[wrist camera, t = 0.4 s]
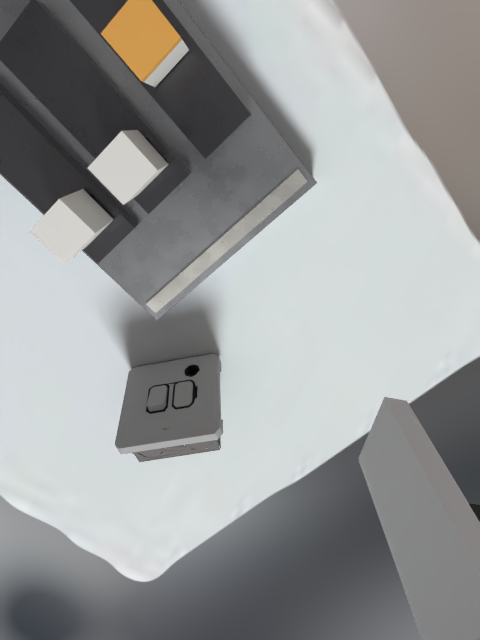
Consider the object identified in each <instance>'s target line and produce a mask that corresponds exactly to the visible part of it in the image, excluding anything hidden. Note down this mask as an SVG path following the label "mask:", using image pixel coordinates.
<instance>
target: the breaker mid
mask: <svg viewBox="0 0 480 640" xmlns="http://www.w3.org/2000/svg"><path fill="white" fill-rule="evenodd" d="M168 165H169V164H168V163H167V162H166V161H165V160H164V159H163V157H162V156H161V155H160V154H159V153H158V152H157V151H156V150H155V149H154V147H153V146H152V145H151V144H150V143H149V142H148V141H147V140H146V138H145V137H144V136H143V135H142V134H141V133H140V132H139V131H138V130H128V131H121V132H120V133H119V134H118V135H117V136H116V137H115V138H114V140H113V141H112V142H111V143H110V144H109V145H108V146H107V147H106V148H105V149H104V150H103V152H102V153H101V154H100V155H99V156H98V157H97V158H96V159H95V160H94V161H93V162H92V163H91V165H90V166H89V167H88V169H89V170H90V171H91V172H92V173H93V174H94V175H95V177H96V178H97V179H98V180H99V181H100V182H101V183H102V184H103V185H104V186H105V187H106V188H107V189H108V190H109V191H110V192H111V193H112V194H113V195H114V196H115V197H116V198H117V199H118V200H119V201H120V202H121V203H122V204H123V205H124V204H126V203H127V202H129V201H130V200H131V199H133V198H134V197H136V196H137V195H139V194H140V193H141V192H142V191H143V190H144V189H145V188H146V187H147V186H148V185H149V184H150V183H151V182H152V181H153V180H154V179H155V178H156V177H157V176H158V175H159V174H160V173H161V172H162V171H163V170H164V169H165V168H166V167H167V166H168Z"/></svg>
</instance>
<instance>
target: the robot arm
mask: <svg viewBox="0 0 480 640" xmlns="http://www.w3.org/2000/svg"><path fill="white" fill-rule="evenodd" d="M359 462H360V465H361V468H362V471H363V474H364V476H365V479H366V482H367V485H368V488H369V490H370V493H371V496H372V499H373V502H374V505H375V507H376V510H377V513H378V516H379V519H380V522H381V525H382V527H383V530H384V533H385V536H386V539H387V542H388V544H389V547H390V550H391V553H392V556H393V558H394V561H395V564H396V567H397V570H398V573H399V575H400V578H401V581H402V584H403V587H404V590H405V593H406V595H407V598H408V601H409V604H410V607H411V609H412V613H413V615H414V618H415V621H416V624H417V627H418V629H419V632H420V635H421V638H422V640H480V505H476V504H469V503H468V502H467V500H466V499H465V497H464V495H463V494H462V492H461V490H460V489H459V487H458V485H457V484H456V482H455V480H454V479H453V477H452V475H451V474H450V472H449V470H448V469H447V467H446V465H445V464H444V462H443V460H442V459H441V457H440V456H439V454H438V452H437V451H436V449H435V447H434V446H433V444H432V442H431V441H430V439H429V437H428V436H427V434H426V432H425V431H424V429H423V427H422V426H421V424H420V422H419V421H418V419H417V417H416V416H415V414H414V413H413V411H412V409H411V408H410V406H409V404H408V402H407V401H405V400H399V399H393V398H387V397H384V400H383V402H382V404H381V407H380V409H379V411H378V414H377V416H376V418H375V421H374V423H373V425H372V428H371V430H370V433H369V435H368V437H367V440H366V442H365V444H364V447H363V449H362V452H361V454H360V456H359Z"/></svg>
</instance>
